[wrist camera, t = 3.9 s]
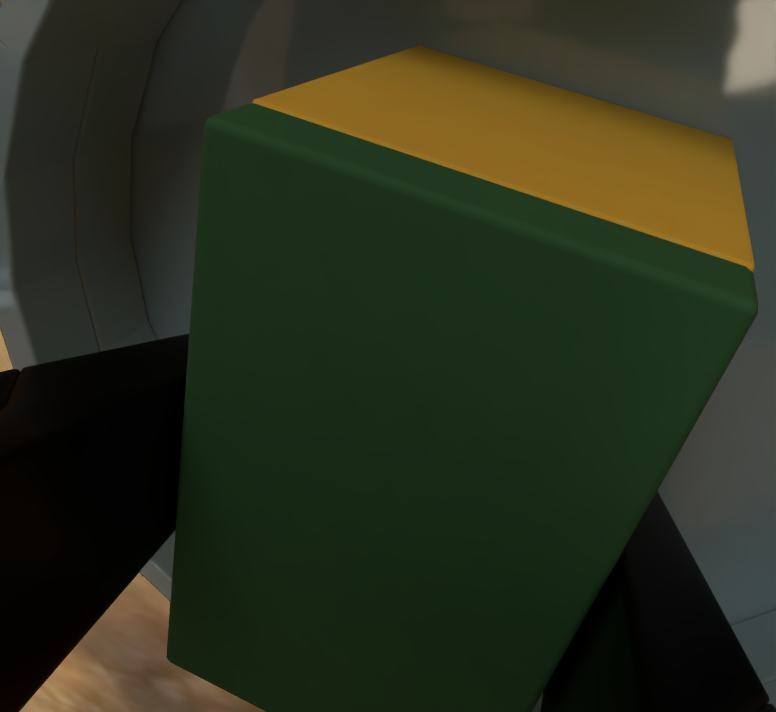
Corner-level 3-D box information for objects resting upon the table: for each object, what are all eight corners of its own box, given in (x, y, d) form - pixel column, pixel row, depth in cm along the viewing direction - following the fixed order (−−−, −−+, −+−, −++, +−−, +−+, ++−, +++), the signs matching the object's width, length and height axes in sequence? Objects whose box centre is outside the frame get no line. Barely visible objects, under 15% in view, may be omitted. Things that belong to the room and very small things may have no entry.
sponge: (547, 532, 14) (471, 821, 9) (331, 440, 14) (163, 662, 10) (734, 139, 10) (764, 308, 5) (417, 44, 10) (199, 115, 6)
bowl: (739, 745, 15) (749, 931, 12) (122, 462, 18) (13, 558, 15) (1490, -100, 7) (2056, -140, 4) (132, -368, 10) (-102, -500, 7)
